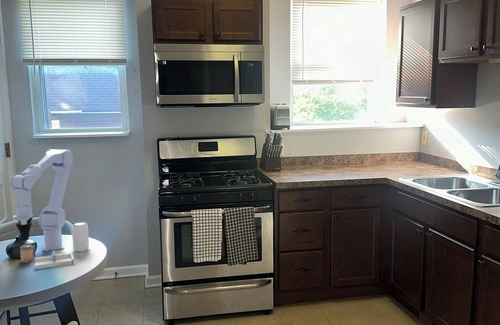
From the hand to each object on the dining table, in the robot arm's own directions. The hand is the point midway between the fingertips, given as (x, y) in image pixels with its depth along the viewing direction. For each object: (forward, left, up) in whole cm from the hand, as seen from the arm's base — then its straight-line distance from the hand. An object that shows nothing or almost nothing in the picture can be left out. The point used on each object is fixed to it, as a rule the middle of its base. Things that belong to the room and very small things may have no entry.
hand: (25, 237), depth 177 cm
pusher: (+7, +10, -10) cm, 16 cm away
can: (-5, +21, -10) cm, 24 cm away
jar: (0, 0, -10) cm, 10 cm away
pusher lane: (+7, +10, -10) cm, 16 cm away
